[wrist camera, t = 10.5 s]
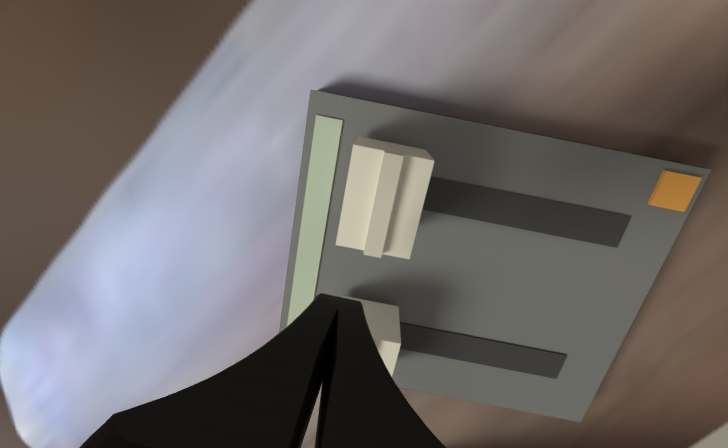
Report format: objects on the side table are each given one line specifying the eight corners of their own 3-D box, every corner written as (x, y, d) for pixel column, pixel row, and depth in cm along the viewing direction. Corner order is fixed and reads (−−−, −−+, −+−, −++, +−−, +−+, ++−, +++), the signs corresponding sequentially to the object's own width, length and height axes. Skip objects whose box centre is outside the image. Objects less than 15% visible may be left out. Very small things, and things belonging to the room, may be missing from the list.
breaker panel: (568, 401, 22) (582, 425, 21) (282, 346, 22) (274, 366, 21) (685, 164, 17) (715, 170, 16) (316, 90, 17) (309, 89, 16)
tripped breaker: (405, 233, 17) (409, 263, 14) (343, 220, 17) (334, 249, 14) (425, 149, 16) (436, 162, 13) (358, 136, 16) (352, 146, 13)
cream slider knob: (382, 368, 20) (382, 419, 17) (329, 357, 20) (318, 407, 17) (398, 306, 19) (401, 349, 15) (341, 295, 19) (332, 336, 15)
